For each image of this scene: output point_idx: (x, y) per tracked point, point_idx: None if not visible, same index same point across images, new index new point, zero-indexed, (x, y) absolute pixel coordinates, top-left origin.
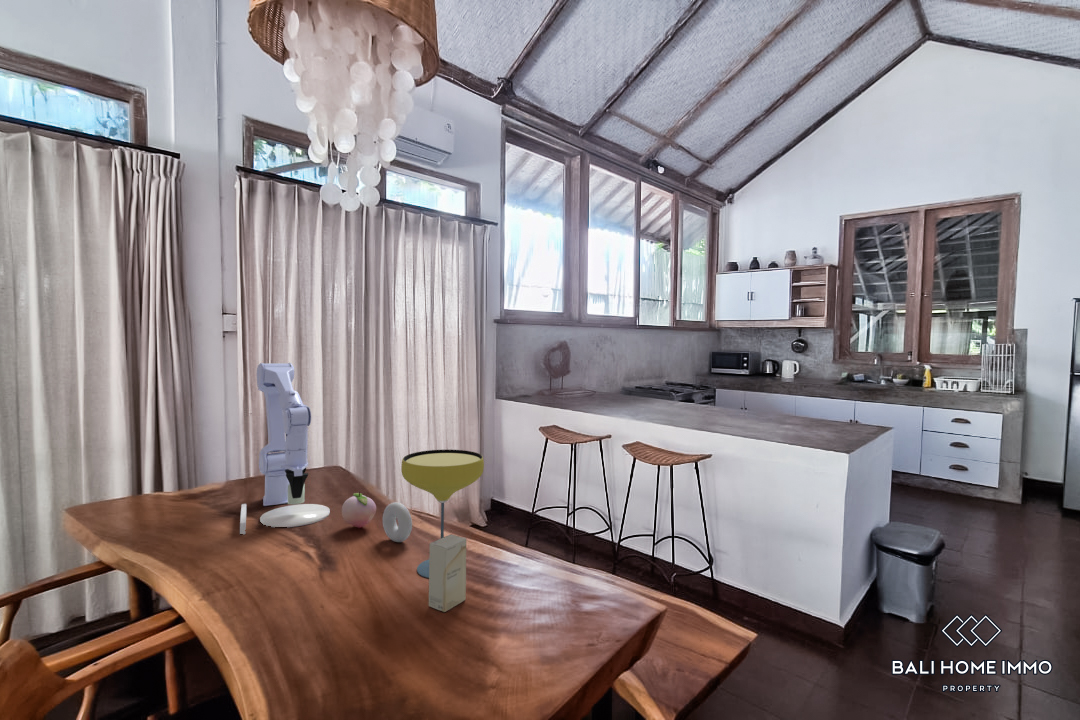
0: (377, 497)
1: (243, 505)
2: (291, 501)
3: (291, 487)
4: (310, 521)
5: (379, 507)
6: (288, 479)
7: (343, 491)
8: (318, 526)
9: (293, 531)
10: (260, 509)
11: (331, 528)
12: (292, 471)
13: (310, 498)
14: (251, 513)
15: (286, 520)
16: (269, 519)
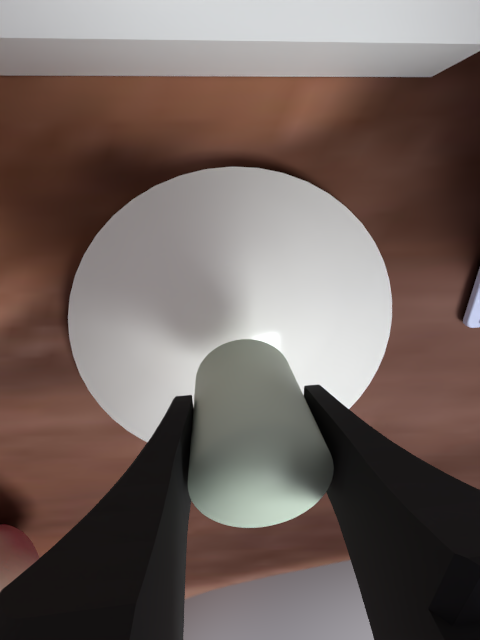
0: (330, 559)
1: (455, 15)
2: (202, 371)
3: (131, 468)
4: (98, 400)
5: (217, 564)
6: (21, 577)
7: (474, 485)
8: (58, 418)
9: (7, 331)
10: (463, 167)
11: (20, 456)
12: (423, 609)
13: (473, 389)
14: (419, 112)
15: (140, 307)
16: (192, 222)
